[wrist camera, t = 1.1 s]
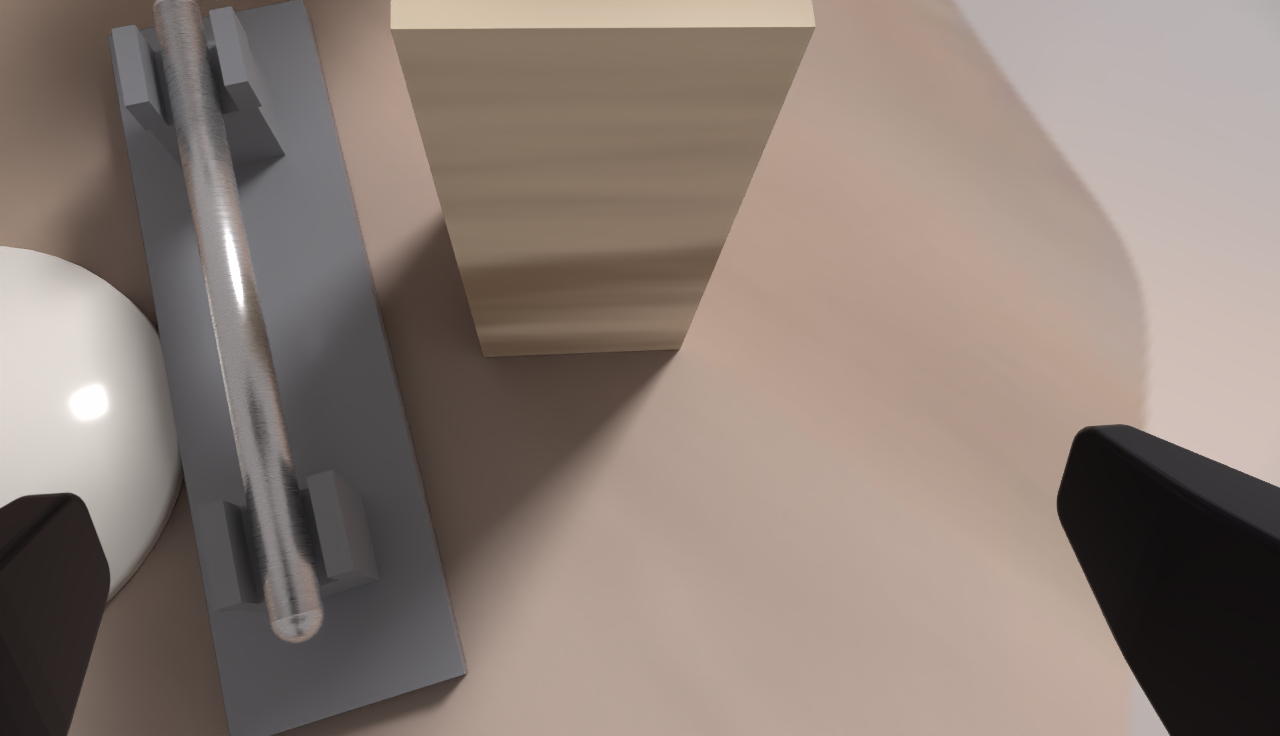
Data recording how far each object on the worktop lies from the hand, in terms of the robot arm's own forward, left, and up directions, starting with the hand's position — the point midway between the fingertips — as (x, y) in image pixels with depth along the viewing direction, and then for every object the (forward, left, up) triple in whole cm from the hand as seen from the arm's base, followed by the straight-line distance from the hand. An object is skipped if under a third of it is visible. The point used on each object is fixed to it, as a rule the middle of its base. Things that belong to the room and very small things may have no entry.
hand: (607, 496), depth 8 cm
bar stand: (+9, 0, -14) cm, 17 cm away
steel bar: (+9, 0, -11) cm, 14 cm away
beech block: (+5, -6, -14) cm, 16 cm away
